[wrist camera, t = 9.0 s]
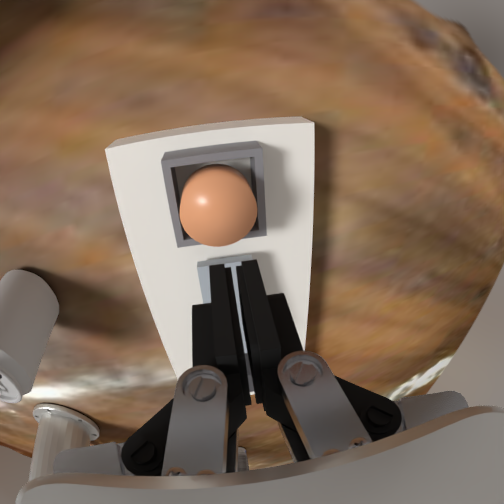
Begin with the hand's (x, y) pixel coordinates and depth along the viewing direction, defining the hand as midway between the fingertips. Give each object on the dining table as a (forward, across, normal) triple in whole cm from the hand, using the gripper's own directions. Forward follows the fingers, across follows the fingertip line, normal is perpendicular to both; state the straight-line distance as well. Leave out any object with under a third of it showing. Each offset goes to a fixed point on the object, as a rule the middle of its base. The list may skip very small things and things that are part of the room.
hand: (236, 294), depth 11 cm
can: (+14, +21, +9) cm, 27 cm away
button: (+10, 0, 0) cm, 10 cm away
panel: (+14, 0, +11) cm, 18 cm away
